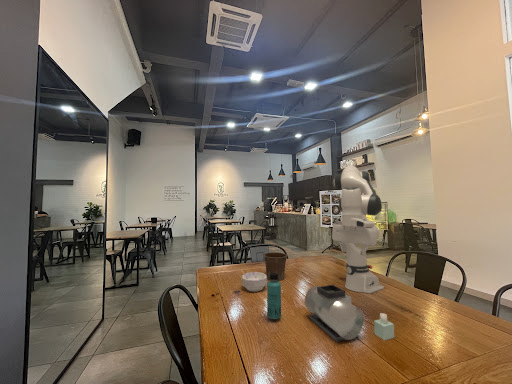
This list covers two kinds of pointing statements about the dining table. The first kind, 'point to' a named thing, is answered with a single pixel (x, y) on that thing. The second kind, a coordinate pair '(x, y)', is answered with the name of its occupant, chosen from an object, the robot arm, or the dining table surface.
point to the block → (384, 327)
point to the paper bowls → (254, 281)
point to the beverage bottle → (274, 297)
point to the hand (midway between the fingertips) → (353, 253)
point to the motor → (334, 312)
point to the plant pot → (275, 264)
